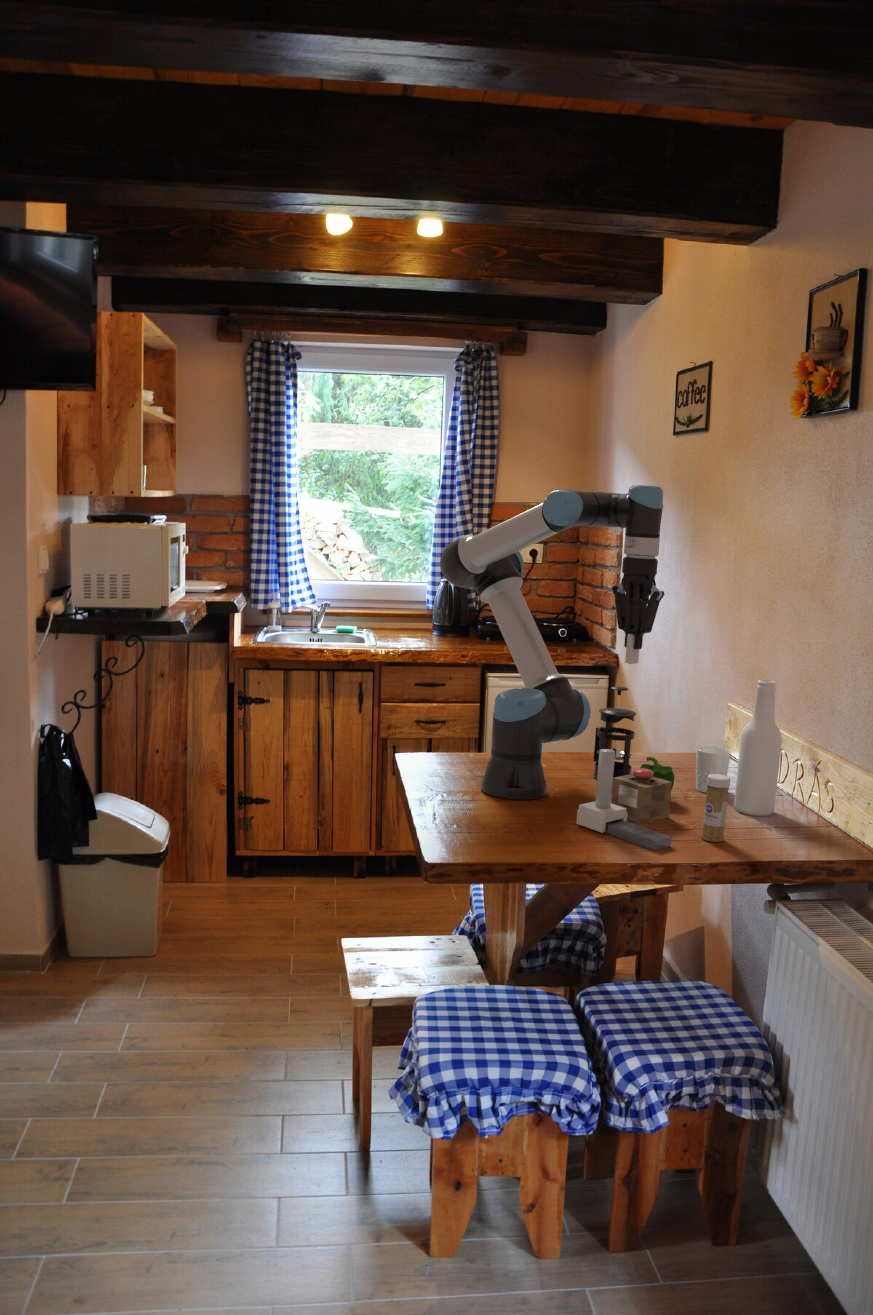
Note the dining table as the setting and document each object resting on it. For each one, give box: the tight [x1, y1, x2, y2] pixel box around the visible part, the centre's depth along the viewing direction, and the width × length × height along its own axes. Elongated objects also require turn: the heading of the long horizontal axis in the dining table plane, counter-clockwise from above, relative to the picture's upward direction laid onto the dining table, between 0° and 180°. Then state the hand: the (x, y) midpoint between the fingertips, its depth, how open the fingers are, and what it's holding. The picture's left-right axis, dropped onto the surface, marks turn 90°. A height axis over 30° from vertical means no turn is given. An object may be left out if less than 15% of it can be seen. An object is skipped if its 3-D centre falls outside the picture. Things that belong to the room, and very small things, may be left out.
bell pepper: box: [639, 756, 675, 792], centre depth 248 cm, size 8×8×10 cm
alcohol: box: [733, 679, 783, 817], centre depth 241 cm, size 9×9×30 cm
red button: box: [632, 767, 654, 784], centre depth 234 cm, size 4×4×8 cm
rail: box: [603, 819, 673, 852], centre depth 221 cm, size 20×5×2 cm, turn 41°
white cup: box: [695, 745, 732, 794], centre depth 259 cm, size 8×8×10 cm
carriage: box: [576, 748, 628, 834], centre depth 224 cm, size 7×8×16 cm
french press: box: [592, 686, 637, 781], centre depth 264 cm, size 12×9×23 cm
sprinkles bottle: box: [701, 774, 731, 843], centre depth 220 cm, size 5×5×14 cm
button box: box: [611, 773, 673, 825], centre depth 235 cm, size 9×9×8 cm
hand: (631, 663), depth 238 cm, fingers closed
